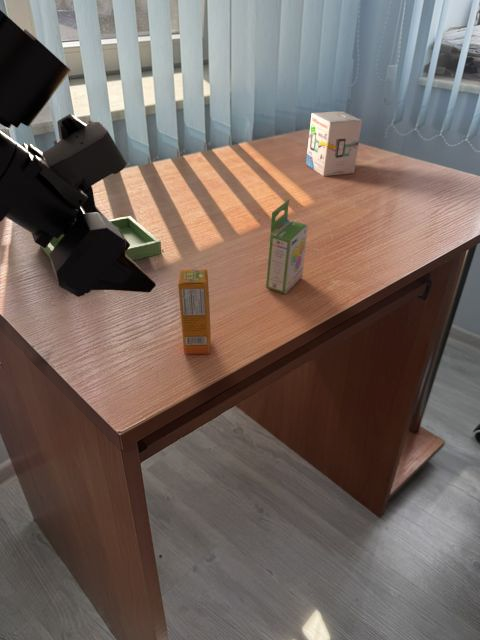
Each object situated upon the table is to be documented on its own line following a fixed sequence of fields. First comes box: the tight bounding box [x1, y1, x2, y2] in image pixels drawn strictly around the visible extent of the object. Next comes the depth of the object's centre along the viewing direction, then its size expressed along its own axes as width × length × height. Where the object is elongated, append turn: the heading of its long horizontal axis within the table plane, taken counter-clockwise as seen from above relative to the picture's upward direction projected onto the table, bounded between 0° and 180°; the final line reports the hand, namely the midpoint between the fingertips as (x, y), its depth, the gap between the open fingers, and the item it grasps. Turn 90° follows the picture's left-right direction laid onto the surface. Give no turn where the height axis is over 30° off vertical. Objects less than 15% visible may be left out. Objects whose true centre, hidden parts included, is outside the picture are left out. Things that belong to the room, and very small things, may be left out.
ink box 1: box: [265, 199, 309, 295], centre depth 74 cm, size 6×4×12 cm, turn 153°
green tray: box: [39, 215, 162, 261], centre depth 82 cm, size 15×11×2 cm
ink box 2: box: [305, 110, 363, 177], centre depth 118 cm, size 8×8×12 cm
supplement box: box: [177, 268, 212, 355], centre depth 60 cm, size 3×3×10 cm
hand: (139, 266), depth 54 cm, fingers open, 9 cm apart
